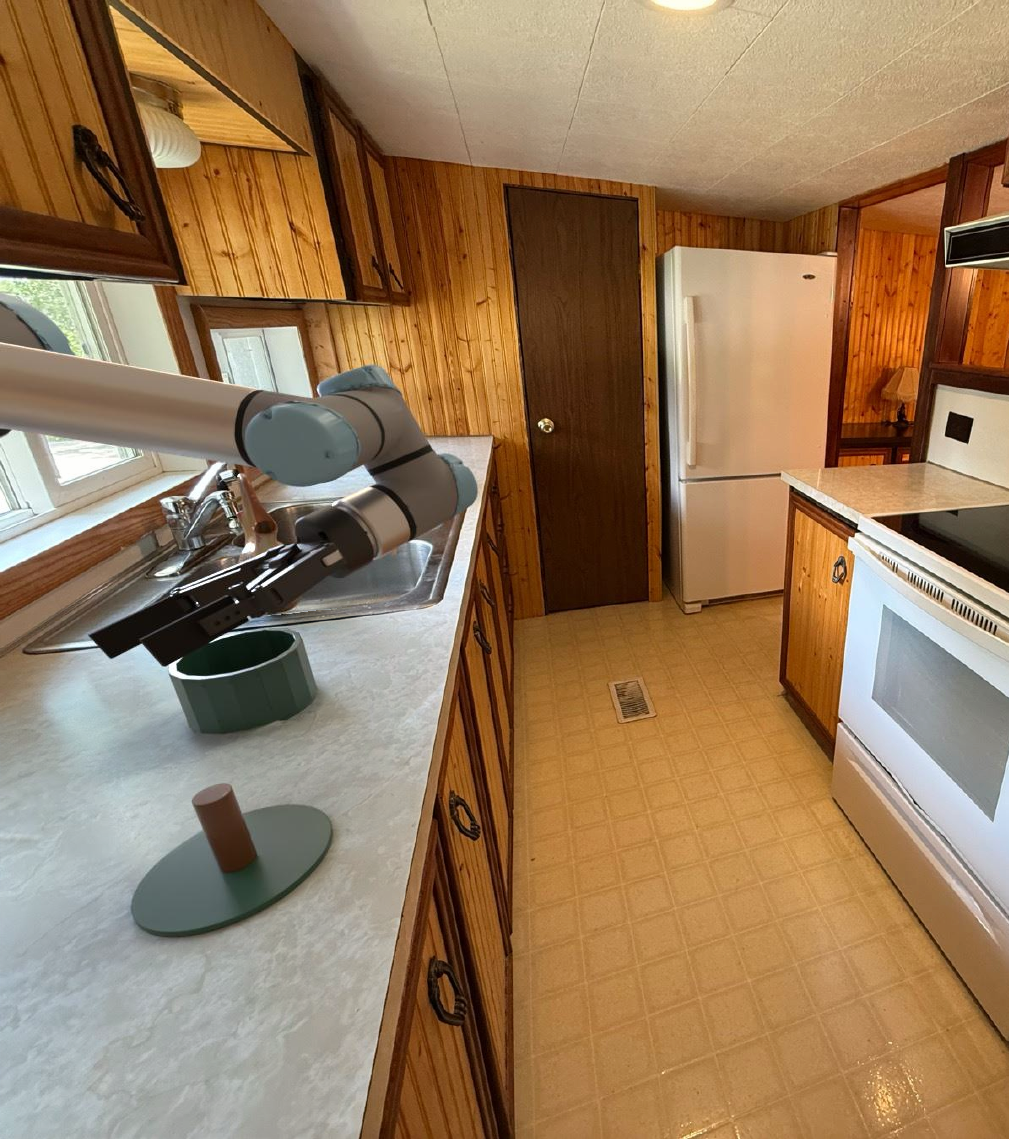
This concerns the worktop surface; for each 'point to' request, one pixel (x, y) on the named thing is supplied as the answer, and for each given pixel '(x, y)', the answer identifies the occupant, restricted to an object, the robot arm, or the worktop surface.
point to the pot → (244, 680)
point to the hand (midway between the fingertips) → (123, 650)
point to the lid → (230, 865)
